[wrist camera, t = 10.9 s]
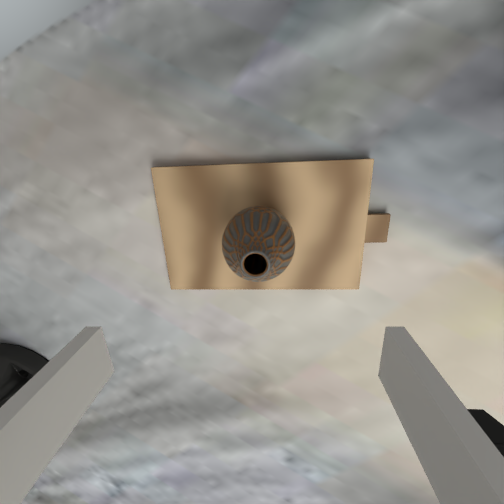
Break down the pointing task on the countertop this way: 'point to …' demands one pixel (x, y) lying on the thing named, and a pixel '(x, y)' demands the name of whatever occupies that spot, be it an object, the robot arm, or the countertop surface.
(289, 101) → the countertop surface
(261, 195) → the board
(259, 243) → the vase
